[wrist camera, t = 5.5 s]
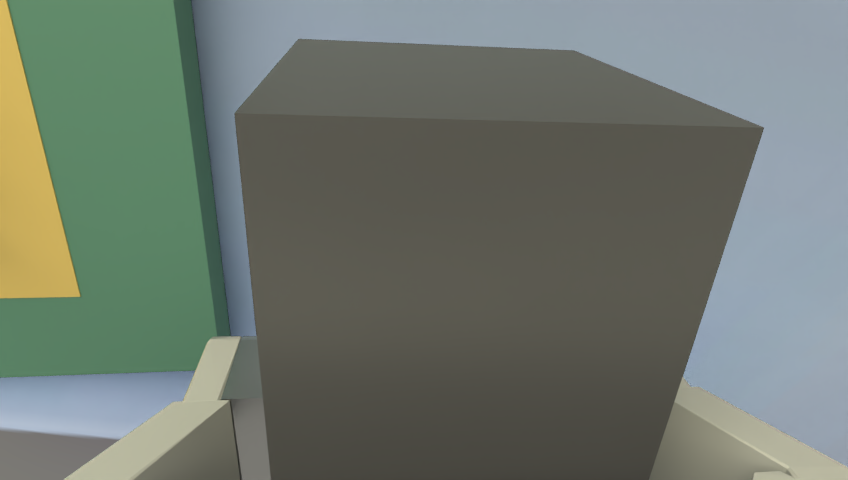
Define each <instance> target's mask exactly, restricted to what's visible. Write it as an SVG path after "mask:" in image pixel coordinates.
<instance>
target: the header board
mask: <svg viewBox="0 0 848 480" xmlns="http://www.w3.org/2000/svg"><path fill="white" fill-rule="evenodd" d="M220 336H231V335H230V327H229V318H228V310H227V301H226V293H225V285H224V276H223V268H222V259H221V251H220V242H219V234H218V225H217V217H216V208H215V200H214V191H213V183H212V174H211V166H210V158H209V149H208V141H207V132H206V124H205V115H204V107H203V98H202V90H201V81H200V73H199V64H198V56H197V48H196V39H195V31H194V22H193V14H192V5H191V0H0V377H28V376H56V375H83V374H111V373H139V372H166V371H194V370H196V368H197V366H198V364H199V361H200V359H201V356H202V354H203V351H204V349H205V347H206V344H207V342H208V341H209V340H210V339H211V338H212V337H220Z"/></svg>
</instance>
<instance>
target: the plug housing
mask: <svg viewBox="0 0 848 480" xmlns="http://www.w3.org/2000/svg"><path fill="white" fill-rule="evenodd" d="M235 123H236V133H237V143H238V153H239V163H240V173H241V184H242V194H243V204H244V214H245V224H246V234H247V244H248V254H249V264H250V274H251V284H252V294H253V304H254V314H255V325H256V335H257V345H258V355H259V365H260V375H261V385H262V395H263V405H264V415H265V425H266V435H267V445H268V455H269V466H270V476H271V480H649V478H650V475H651V472H652V469H653V466H654V463H655V460H656V456H657V453H658V450H659V447H660V444H661V441H662V438H663V435H664V432H665V429H666V426H667V423H668V420H669V417H670V414H671V411H672V408H673V404H674V401H675V398H676V395H677V392H678V389H679V386H680V383H681V380H682V377H683V374H684V371H685V368H686V365H687V362H688V359H689V356H690V352H691V349H692V346H693V343H694V340H695V337H696V334H697V331H698V328H699V325H700V322H701V319H702V316H703V313H704V310H705V307H706V304H707V300H708V297H709V294H710V291H711V288H712V285H713V282H714V279H715V276H716V273H717V270H718V267H719V264H720V261H721V258H722V255H723V252H724V248H725V245H726V242H727V239H728V236H729V233H730V230H731V227H732V224H733V221H734V218H735V215H736V212H737V209H738V206H739V203H740V200H741V196H742V193H743V190H744V187H745V184H746V181H747V178H748V175H749V172H750V169H751V166H752V163H753V160H754V157H755V154H756V151H757V148H758V144H759V141H760V138H761V135H762V132H763V129H764V127H761V126H759V125H756V124H754V123H751V122H749V121H746V120H744V119H741V118H739V117H736V116H734V115H732V114H729V113H727V112H724V111H722V110H719V109H717V108H714V107H712V106H709V105H707V104H704V103H702V102H700V101H697V100H695V99H692V98H690V97H687V96H685V95H682V94H680V93H677V92H675V91H672V90H670V89H667V88H665V87H663V86H660V85H658V84H655V83H653V82H650V81H648V80H645V79H643V78H640V77H638V76H635V75H633V74H631V73H628V72H626V71H623V70H621V69H618V68H616V67H613V66H611V65H608V64H606V63H603V62H601V61H598V60H596V59H594V58H591V57H589V56H586V55H584V54H581V53H579V52H576V51H572V50H549V49H525V48H501V47H478V46H454V45H430V44H407V43H383V42H359V41H336V40H312V39H298V40H297V41H296V42H295V44H294V45H293V46H292V47H291V48H290V49H289V51H288V52H287V53H286V54H285V55H284V56H283V58H282V59H281V60H280V61H279V62H278V63H277V65H276V66H275V67H274V68H273V69H272V70H271V71H270V73H269V74H268V75H267V76H266V77H265V78H264V80H263V81H262V82H261V83H260V84H259V85H258V87H257V88H256V89H255V90H254V91H253V92H252V94H251V95H250V96H249V97H248V98H247V99H246V101H245V102H244V103H243V104H242V105H241V106H240V107H239V109H238V110H237V111H236V112H235Z"/></svg>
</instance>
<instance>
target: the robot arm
mask: <svg viewBox="0 0 848 480" xmlns="http://www.w3.org/2000/svg"><path fill="white" fill-rule="evenodd" d="M64 480H271V476H270V466H269V455H268V445H267V435H266V425H265V415H264V405H263V395H262V385H261V375H260V365H259V355H258V345H257V336H243V337H241V336H220V337H212V338H211V339H210V340H209V341H208V342H207V344H206V347H205V349H204V351H203V354H202V356H201V359H200V361H199V364H198V366H197V368H196V371H195V373H194V376H193V378H192V380H191V383H190V385H189V388H188V390H187V392H186V395H185V397H184V400H183V401H182V402H172V403H171V404H170V405H168V406H167V407H165V408H164V409H163V410H161V411H160V412H158V413H157V414H156V415H154V416H153V417H151V418H150V419H148V420H147V421H146V422H144V423H143V424H141V425H140V426H139V427H137V428H136V429H134V430H133V431H132V432H130V433H129V434H127V435H126V436H124V437H123V438H122V439H120V440H119V441H118V442H116V443H115V444H113V445H112V446H110V447H109V448H108V449H106V450H105V451H103V452H102V453H100V454H99V455H98V456H96V457H95V458H93V459H92V460H91V461H89V462H88V463H86V464H85V465H84V466H82V467H81V468H79V469H78V470H77V471H75V472H74V473H72V474H71V475H69V476H68V477H67V478H65V479H64ZM649 480H848V468H847V467H846V466H844V465H843V464H841V463H839V462H837V461H835V460H833V459H831V458H830V457H828V456H826V455H824V454H822V453H820V452H819V451H817V450H815V449H813V448H811V447H809V446H807V445H806V444H804V443H802V442H800V441H798V440H796V439H794V438H793V437H791V436H789V435H787V434H785V433H783V432H782V431H780V430H778V429H776V428H774V427H772V426H770V425H769V424H767V423H765V422H763V421H761V420H759V419H757V418H756V417H754V416H752V415H750V414H748V413H746V412H745V411H743V410H741V409H739V408H737V407H735V406H733V405H732V404H730V403H728V402H726V401H724V400H722V399H720V398H719V397H717V396H715V395H713V394H711V393H709V392H708V391H706V390H704V389H702V388H700V387H690V385H689V384H688V383H687V382H686V380H685V379H684V378H683V377H682V380H681V383H680V386H679V389H678V392H677V395H676V398H675V401H674V404H673V408H672V411H671V414H670V417H669V420H668V423H667V426H666V429H665V432H664V435H663V438H662V441H661V444H660V447H659V450H658V453H657V456H656V460H655V463H654V466H653V469H652V472H651V475H650V478H649Z"/></svg>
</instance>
